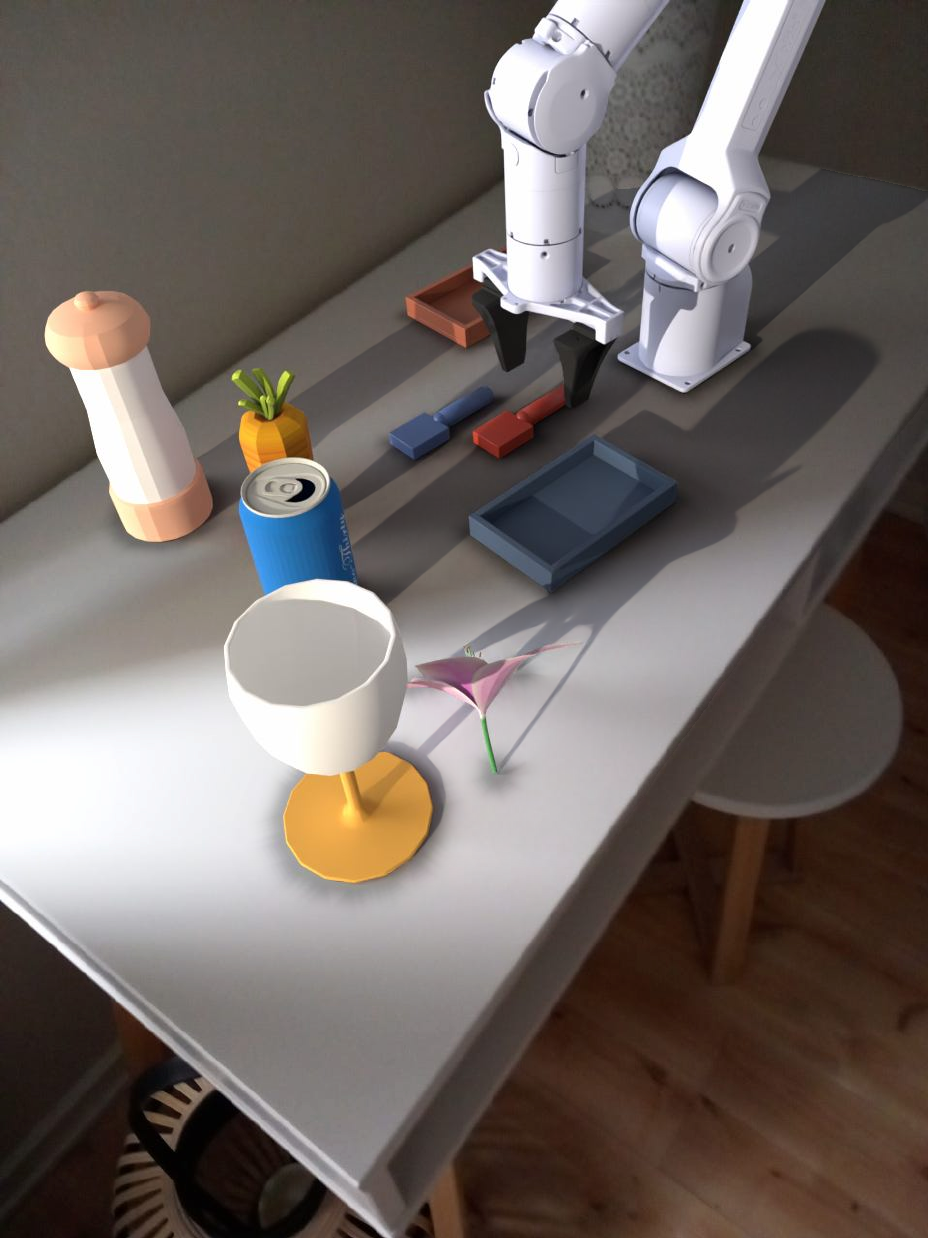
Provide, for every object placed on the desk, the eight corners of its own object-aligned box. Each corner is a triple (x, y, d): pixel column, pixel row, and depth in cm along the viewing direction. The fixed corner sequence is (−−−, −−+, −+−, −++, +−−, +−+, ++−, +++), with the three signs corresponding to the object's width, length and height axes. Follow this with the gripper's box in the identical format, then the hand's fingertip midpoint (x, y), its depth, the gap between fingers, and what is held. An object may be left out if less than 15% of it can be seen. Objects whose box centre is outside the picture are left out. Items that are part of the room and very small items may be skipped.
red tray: (507, 263, 102) (507, 244, 100) (567, 291, 97) (568, 273, 96) (407, 315, 96) (405, 296, 95) (466, 348, 92) (464, 329, 90)
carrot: (341, 518, 76) (307, 352, 65) (315, 561, 73) (274, 394, 62) (285, 507, 78) (242, 343, 67) (257, 549, 75) (206, 384, 64)
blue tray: (593, 453, 80) (593, 433, 78) (675, 501, 75) (678, 481, 74) (469, 535, 74) (468, 515, 73) (551, 593, 70) (551, 573, 68)
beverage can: (349, 653, 67) (319, 524, 58) (261, 643, 68) (218, 515, 59) (374, 586, 71) (348, 456, 62) (290, 577, 72) (254, 449, 64)
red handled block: (559, 389, 86) (559, 374, 85) (585, 404, 84) (585, 388, 83) (473, 442, 82) (472, 426, 81) (499, 459, 80) (498, 443, 79)
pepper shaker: (231, 499, 79) (162, 280, 65) (169, 554, 75) (80, 334, 61) (167, 471, 82) (87, 257, 68) (103, 523, 78) (4, 307, 64)
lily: (608, 711, 64) (578, 575, 61) (562, 812, 54) (524, 655, 50) (443, 720, 69) (408, 595, 65) (373, 815, 58) (327, 672, 55)
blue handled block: (479, 391, 87) (478, 376, 86) (504, 406, 85) (503, 390, 84) (390, 444, 82) (387, 428, 81) (414, 460, 81) (412, 445, 80)
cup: (256, 856, 57) (179, 688, 45) (324, 735, 63) (272, 557, 51) (397, 904, 54) (355, 738, 43) (455, 773, 60) (432, 595, 48)
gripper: (439, 216, 74) (452, 370, 84) (579, 281, 66) (574, 442, 76) (507, 184, 77) (511, 337, 87) (647, 243, 69) (634, 403, 79)
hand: (544, 384), depth 82 cm, fingers open, 7 cm apart
